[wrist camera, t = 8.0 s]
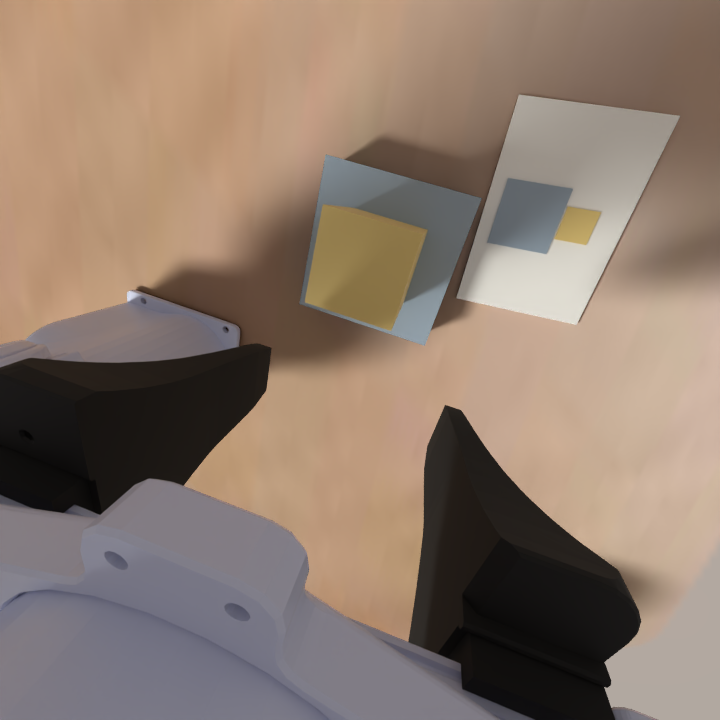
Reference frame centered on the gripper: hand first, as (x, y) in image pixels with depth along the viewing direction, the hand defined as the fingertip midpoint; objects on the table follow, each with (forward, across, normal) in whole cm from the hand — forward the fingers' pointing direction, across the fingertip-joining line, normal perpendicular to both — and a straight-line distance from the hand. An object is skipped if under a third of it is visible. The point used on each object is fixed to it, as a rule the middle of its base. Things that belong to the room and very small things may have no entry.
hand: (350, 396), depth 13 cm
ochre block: (+7, +1, -4) cm, 9 cm away
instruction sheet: (+10, -7, -8) cm, 14 cm away
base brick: (+10, +1, -4) cm, 11 cm away
